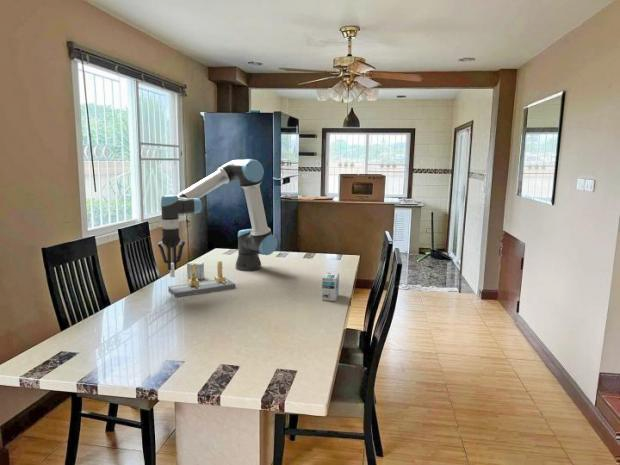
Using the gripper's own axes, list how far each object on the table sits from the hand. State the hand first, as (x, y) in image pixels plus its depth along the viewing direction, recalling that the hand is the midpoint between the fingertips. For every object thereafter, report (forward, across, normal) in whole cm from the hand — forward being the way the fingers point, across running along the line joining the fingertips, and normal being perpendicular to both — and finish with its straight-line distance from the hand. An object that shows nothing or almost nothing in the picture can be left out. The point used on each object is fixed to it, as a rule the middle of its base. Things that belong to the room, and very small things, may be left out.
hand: (172, 276), depth 211 cm
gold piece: (+5, +10, -2) cm, 12 cm away
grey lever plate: (+8, +14, -2) cm, 16 cm away
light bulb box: (+8, +62, -44) cm, 76 cm away
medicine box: (+8, +17, +18) cm, 26 cm away
